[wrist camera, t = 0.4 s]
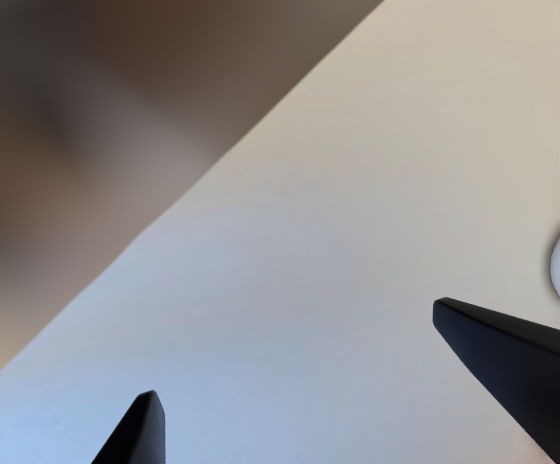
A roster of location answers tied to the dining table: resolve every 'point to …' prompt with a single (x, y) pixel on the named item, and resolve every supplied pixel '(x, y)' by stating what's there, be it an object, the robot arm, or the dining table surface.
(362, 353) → the dining table surface
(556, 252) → the donut
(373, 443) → the dining table surface
